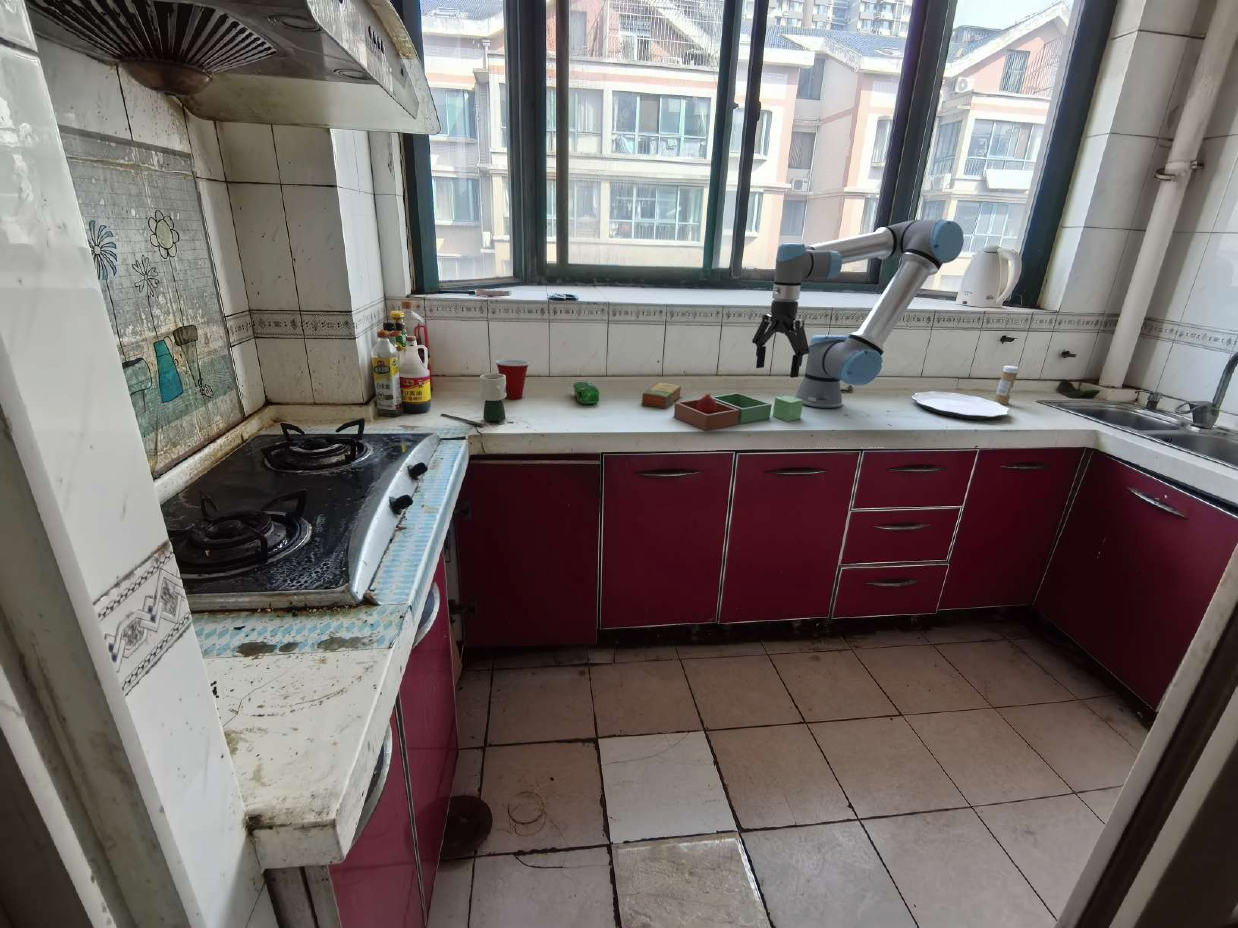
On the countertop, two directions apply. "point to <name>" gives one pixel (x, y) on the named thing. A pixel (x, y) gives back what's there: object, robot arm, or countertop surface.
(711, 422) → the brown bin
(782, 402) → the green block
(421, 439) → the countertop surface
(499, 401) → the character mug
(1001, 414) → the plate
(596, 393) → the snack package
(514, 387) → the plastic cup
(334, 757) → the countertop surface
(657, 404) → the carton
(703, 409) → the onion
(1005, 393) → the sprinkles bottle
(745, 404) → the green bin
